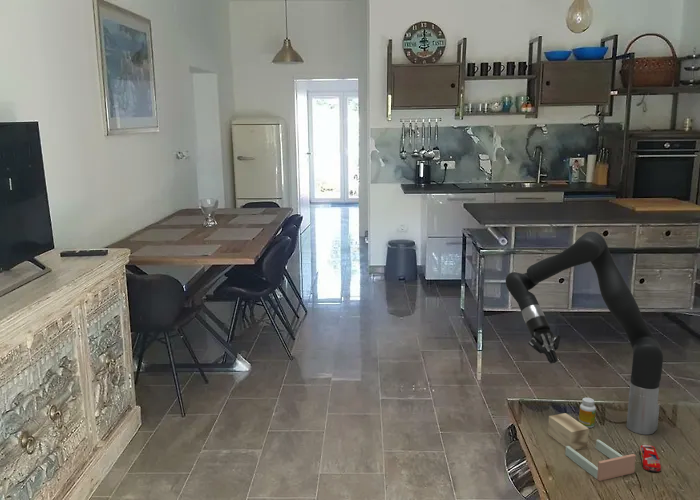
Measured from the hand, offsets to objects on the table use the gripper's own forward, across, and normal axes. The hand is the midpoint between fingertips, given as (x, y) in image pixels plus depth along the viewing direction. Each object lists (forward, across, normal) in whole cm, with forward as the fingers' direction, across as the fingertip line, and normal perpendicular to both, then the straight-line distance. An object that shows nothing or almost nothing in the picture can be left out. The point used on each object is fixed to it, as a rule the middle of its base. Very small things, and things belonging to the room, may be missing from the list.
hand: (554, 362), depth 214 cm
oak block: (+25, -2, +9) cm, 27 cm away
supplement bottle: (+21, +12, +14) cm, 27 cm away
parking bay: (+36, -2, -2) cm, 36 cm away
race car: (+40, +14, -5) cm, 43 cm away
